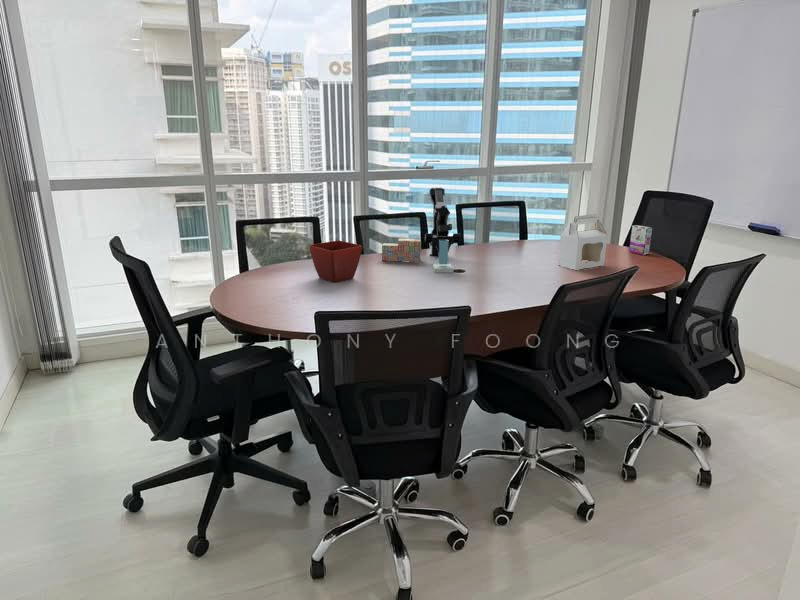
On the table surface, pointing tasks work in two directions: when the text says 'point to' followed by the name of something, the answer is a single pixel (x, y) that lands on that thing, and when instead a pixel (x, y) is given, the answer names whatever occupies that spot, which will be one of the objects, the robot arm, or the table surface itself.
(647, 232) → the candy bar box
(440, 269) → the base tile
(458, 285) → the table surface
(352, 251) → the plant pot
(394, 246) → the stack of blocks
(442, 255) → the teal pillar
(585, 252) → the gable box
